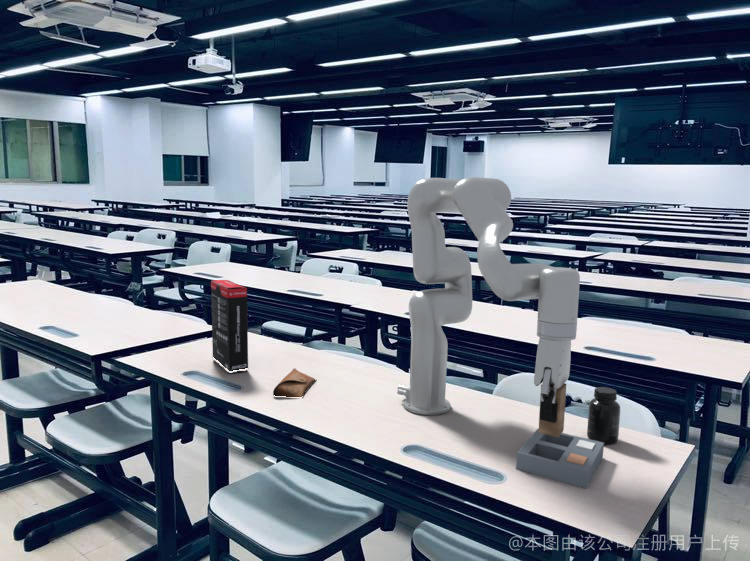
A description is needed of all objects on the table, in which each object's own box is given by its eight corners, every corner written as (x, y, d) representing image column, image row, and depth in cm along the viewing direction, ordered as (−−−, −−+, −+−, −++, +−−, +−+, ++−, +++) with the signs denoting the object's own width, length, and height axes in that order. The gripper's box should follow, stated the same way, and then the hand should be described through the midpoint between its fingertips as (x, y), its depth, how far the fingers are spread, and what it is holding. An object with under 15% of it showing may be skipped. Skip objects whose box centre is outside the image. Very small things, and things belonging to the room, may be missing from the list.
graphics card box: (249, 372, 173) (249, 286, 169) (228, 375, 169) (227, 287, 166) (230, 358, 187) (230, 278, 183) (210, 361, 183) (209, 280, 179)
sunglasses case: (303, 399, 150) (291, 378, 150) (281, 410, 151) (269, 389, 151) (318, 379, 168) (307, 360, 168) (298, 389, 169) (287, 370, 169)
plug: (538, 432, 113) (541, 385, 111) (543, 426, 116) (546, 380, 115) (558, 437, 110) (561, 388, 109) (563, 430, 114) (566, 383, 113)
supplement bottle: (609, 433, 133) (614, 385, 132) (623, 445, 127) (628, 395, 125) (581, 433, 133) (585, 385, 132) (593, 445, 126) (598, 395, 125)
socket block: (515, 468, 114) (517, 451, 113) (538, 441, 127) (539, 426, 127) (587, 488, 107) (588, 470, 106) (602, 458, 120) (604, 441, 120)
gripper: (548, 320, 120) (544, 402, 122) (525, 334, 106) (520, 426, 108) (585, 325, 116) (579, 409, 118) (565, 339, 102) (559, 435, 104)
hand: (551, 416), depth 113 cm, fingers closed on plug, 4 cm apart
